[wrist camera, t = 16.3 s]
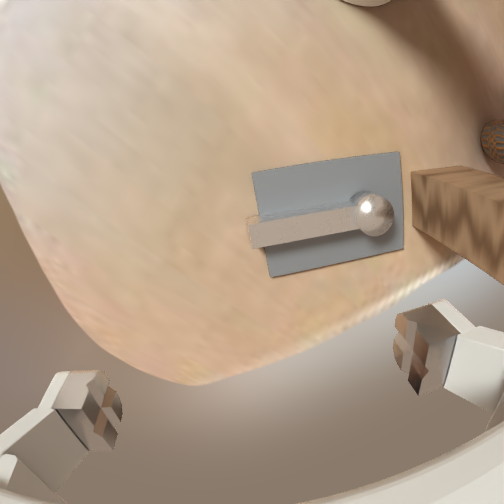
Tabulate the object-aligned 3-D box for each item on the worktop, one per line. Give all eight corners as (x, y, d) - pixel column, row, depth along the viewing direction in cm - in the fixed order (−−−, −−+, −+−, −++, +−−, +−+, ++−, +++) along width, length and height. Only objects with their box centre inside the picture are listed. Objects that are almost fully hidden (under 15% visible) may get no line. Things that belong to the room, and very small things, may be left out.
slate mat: (251, 172, 39) (251, 173, 38) (397, 151, 39) (399, 152, 39) (269, 275, 44) (270, 277, 44) (401, 247, 44) (403, 248, 44)
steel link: (244, 210, 40) (247, 219, 36) (379, 188, 40) (393, 194, 37) (251, 247, 42) (254, 260, 38) (380, 223, 42) (394, 232, 38)
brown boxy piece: (404, 161, 40) (575, 221, 14) (465, 155, 40) (617, 204, 14) (407, 236, 44) (545, 343, 18) (465, 223, 44) (596, 303, 18)
